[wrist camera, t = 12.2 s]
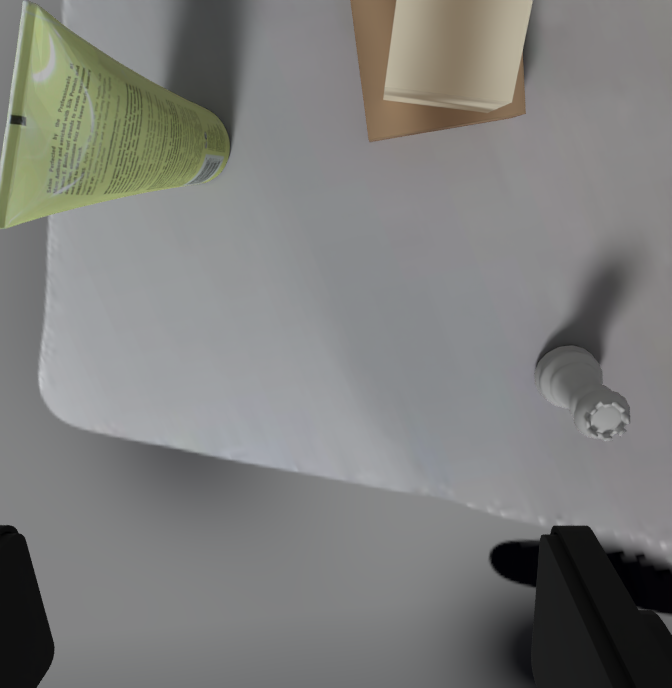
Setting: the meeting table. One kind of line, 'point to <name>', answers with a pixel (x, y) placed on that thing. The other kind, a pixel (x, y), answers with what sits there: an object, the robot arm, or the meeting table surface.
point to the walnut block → (398, 117)
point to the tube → (94, 128)
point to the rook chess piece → (582, 392)
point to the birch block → (456, 52)
